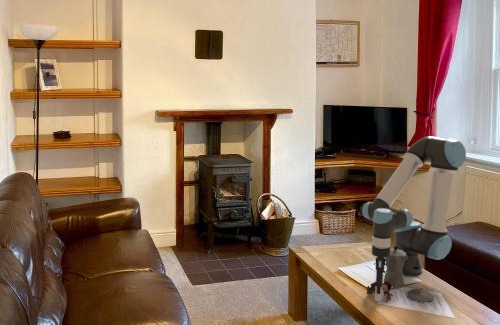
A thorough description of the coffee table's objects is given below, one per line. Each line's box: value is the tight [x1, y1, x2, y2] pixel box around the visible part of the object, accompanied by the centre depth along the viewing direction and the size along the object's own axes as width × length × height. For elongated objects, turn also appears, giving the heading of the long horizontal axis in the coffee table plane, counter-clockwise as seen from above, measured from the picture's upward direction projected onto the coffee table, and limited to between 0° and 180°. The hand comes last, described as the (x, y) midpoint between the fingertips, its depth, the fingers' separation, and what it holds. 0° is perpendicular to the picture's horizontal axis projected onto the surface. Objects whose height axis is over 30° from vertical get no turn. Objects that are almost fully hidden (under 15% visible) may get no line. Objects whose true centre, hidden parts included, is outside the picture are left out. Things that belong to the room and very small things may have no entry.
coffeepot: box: [383, 245, 408, 289], centre depth 242 cm, size 15×9×18 cm, turn 39°
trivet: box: [406, 288, 435, 304], centre depth 230 cm, size 11×11×1 cm
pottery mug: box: [365, 281, 392, 304], centre depth 230 cm, size 12×9×8 cm
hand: (378, 293), depth 231 cm, fingers open, 12 cm apart
